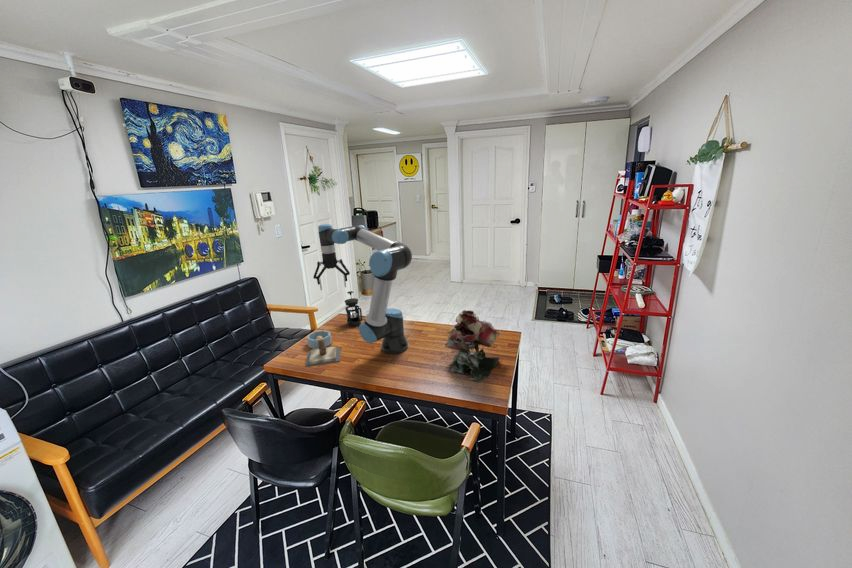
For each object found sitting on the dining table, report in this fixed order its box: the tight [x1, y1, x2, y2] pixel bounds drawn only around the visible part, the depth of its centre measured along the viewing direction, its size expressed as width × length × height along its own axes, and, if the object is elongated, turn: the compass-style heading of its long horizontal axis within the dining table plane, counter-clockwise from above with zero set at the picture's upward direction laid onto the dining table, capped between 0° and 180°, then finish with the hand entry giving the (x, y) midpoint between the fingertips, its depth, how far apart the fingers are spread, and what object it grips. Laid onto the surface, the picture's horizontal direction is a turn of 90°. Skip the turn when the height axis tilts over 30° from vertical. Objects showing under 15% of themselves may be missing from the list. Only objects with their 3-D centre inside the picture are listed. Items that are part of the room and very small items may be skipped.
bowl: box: [306, 329, 332, 350], centre depth 213 cm, size 13×13×6 cm
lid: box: [309, 339, 338, 364], centre depth 196 cm, size 14×14×10 cm
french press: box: [344, 290, 363, 328], centre depth 236 cm, size 12×9×23 cm
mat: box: [305, 347, 341, 368], centre depth 198 cm, size 18×16×1 cm
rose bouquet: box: [444, 309, 500, 383], centre depth 178 cm, size 26×29×30 cm
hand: (333, 288), depth 206 cm, fingers open, 13 cm apart
